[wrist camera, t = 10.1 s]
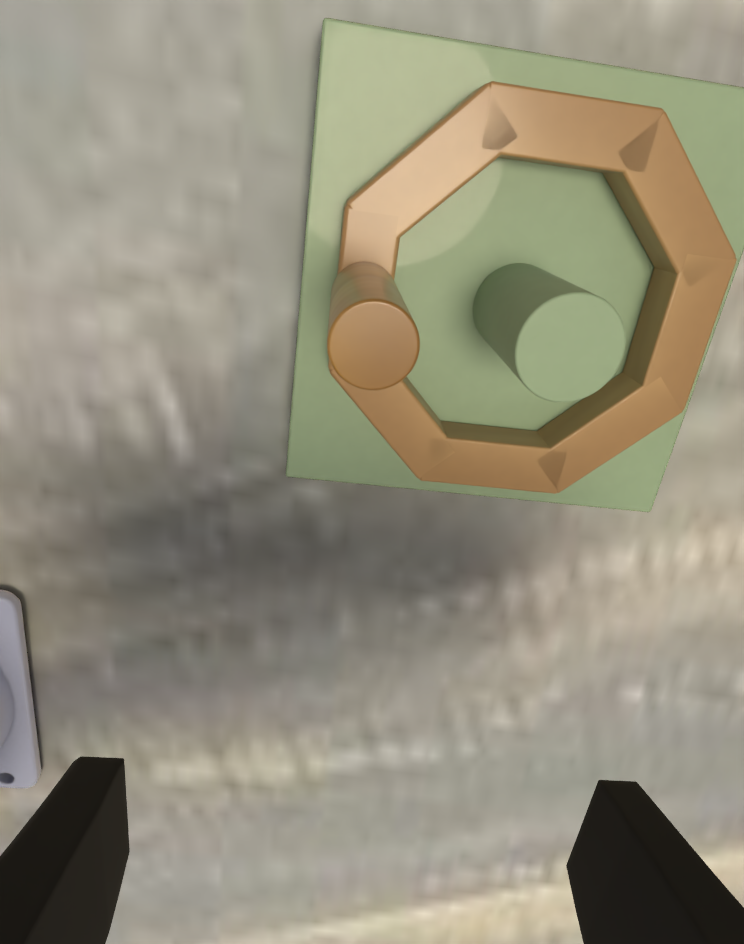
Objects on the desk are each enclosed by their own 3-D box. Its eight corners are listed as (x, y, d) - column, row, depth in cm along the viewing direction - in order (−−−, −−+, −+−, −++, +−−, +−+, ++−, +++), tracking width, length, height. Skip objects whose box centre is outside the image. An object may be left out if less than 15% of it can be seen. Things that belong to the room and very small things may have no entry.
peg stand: (288, 458, 18) (269, 562, 13) (324, 28, 13) (315, -48, 9) (632, 493, 19) (732, 602, 14) (765, 101, 14) (970, 67, 10)
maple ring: (315, 451, 16) (303, 577, 11) (353, 68, 13) (361, -1, 8) (632, 483, 17) (755, 613, 12) (749, 130, 14) (992, 105, 9)
